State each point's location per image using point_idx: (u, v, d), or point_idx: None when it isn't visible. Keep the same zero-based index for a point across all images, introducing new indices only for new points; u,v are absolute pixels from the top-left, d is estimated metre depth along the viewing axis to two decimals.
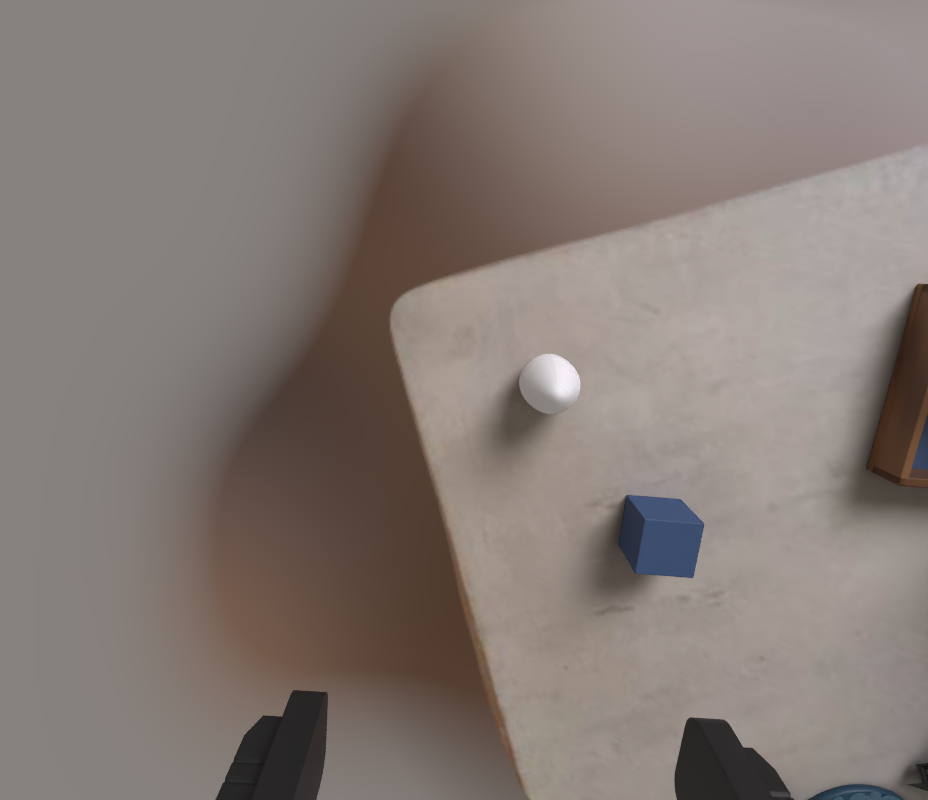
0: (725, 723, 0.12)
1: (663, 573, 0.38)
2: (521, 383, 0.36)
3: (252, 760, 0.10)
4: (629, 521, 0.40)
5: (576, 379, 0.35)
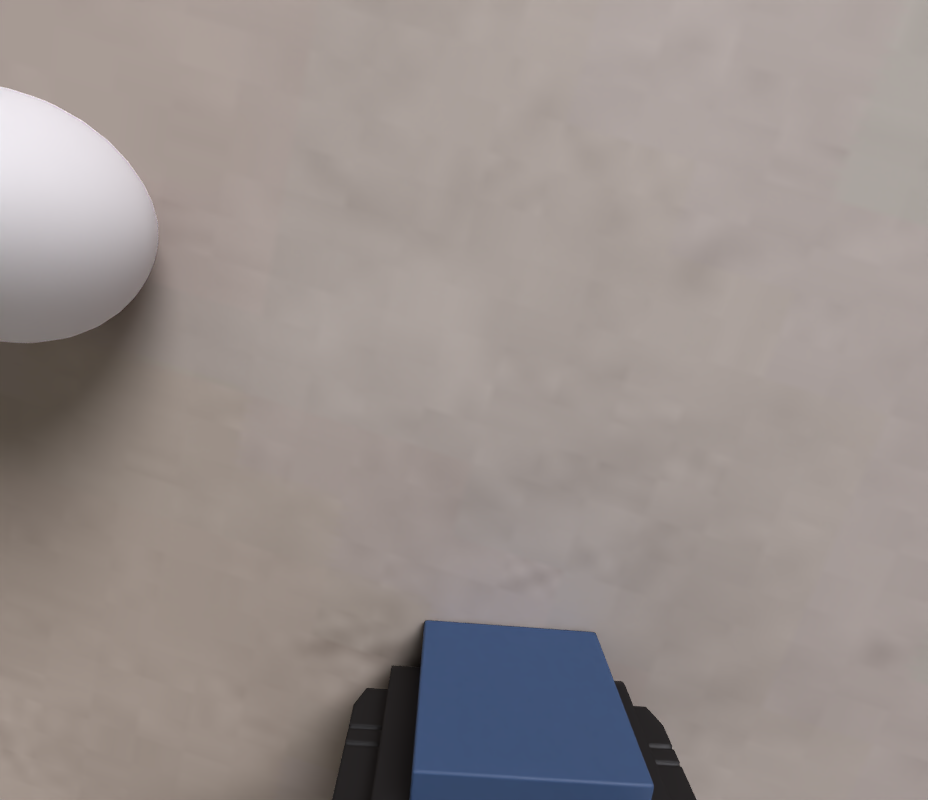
0: (621, 684, 0.13)
1: None
2: None
3: (365, 726, 0.11)
4: None
5: (22, 160, 0.07)
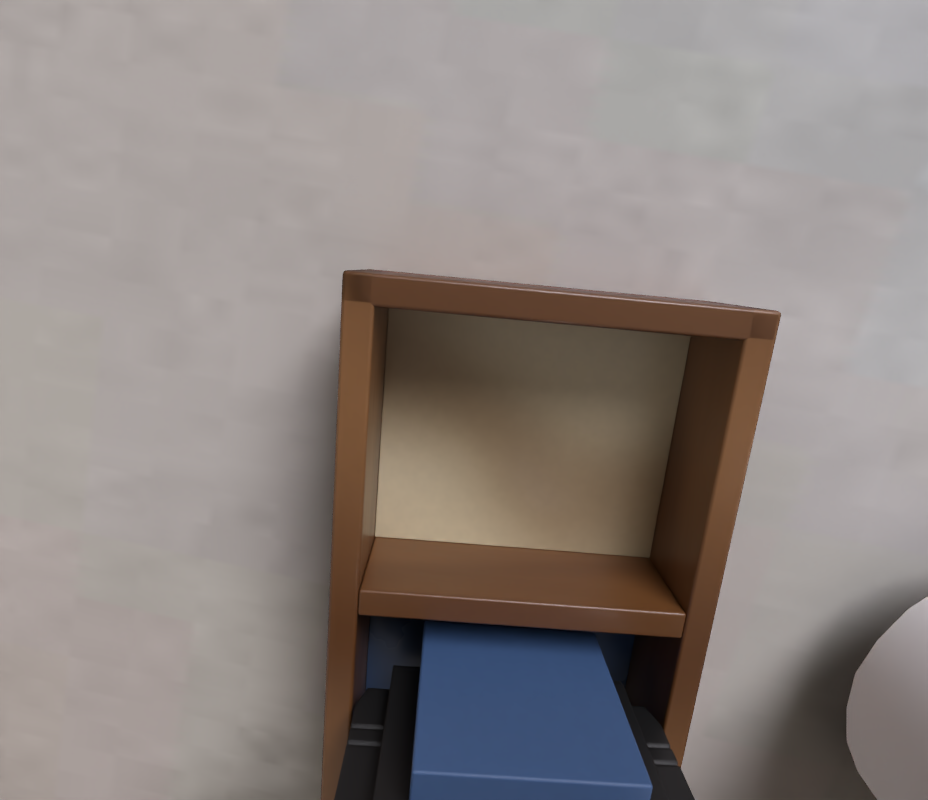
0: (619, 683, 0.13)
1: None
2: None
3: (367, 726, 0.11)
4: None
5: None
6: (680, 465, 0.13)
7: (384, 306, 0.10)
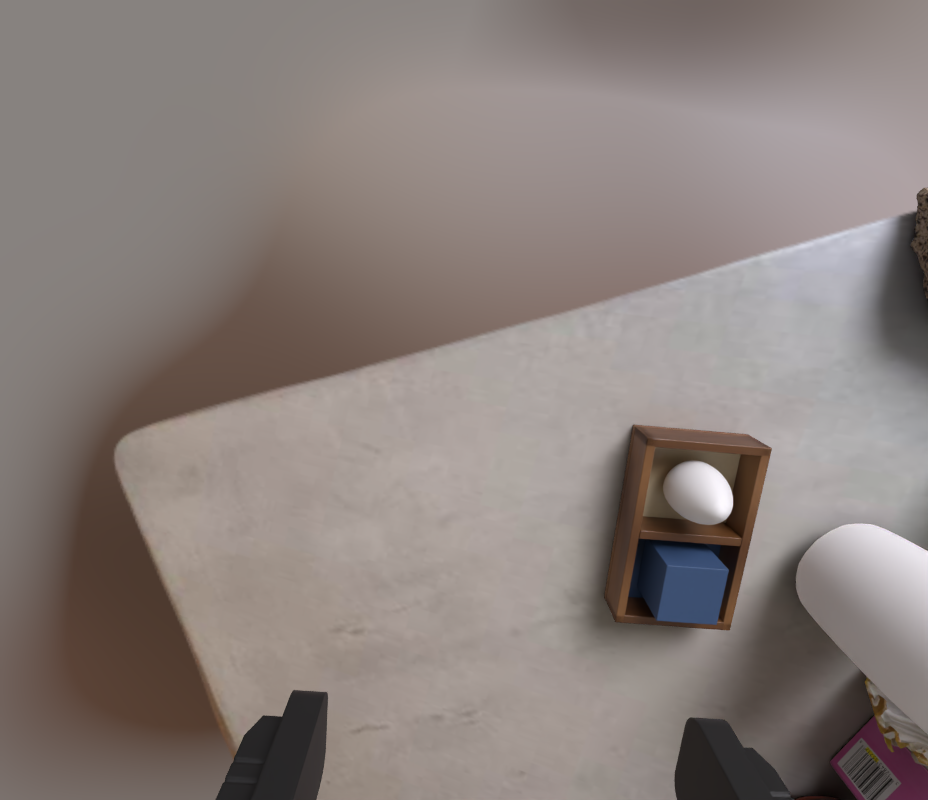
0: (725, 723, 0.12)
1: (686, 621, 0.36)
2: (670, 491, 0.36)
3: (252, 760, 0.10)
4: (649, 564, 0.38)
5: (731, 492, 0.35)
6: (738, 490, 0.38)
7: (658, 447, 0.35)
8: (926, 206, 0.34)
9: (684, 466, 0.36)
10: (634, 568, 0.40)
